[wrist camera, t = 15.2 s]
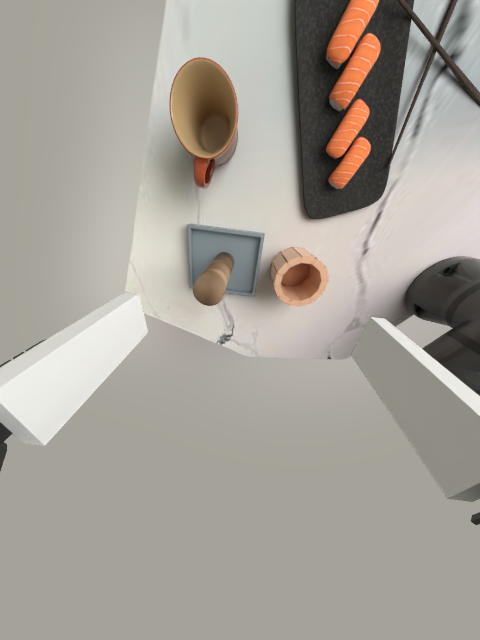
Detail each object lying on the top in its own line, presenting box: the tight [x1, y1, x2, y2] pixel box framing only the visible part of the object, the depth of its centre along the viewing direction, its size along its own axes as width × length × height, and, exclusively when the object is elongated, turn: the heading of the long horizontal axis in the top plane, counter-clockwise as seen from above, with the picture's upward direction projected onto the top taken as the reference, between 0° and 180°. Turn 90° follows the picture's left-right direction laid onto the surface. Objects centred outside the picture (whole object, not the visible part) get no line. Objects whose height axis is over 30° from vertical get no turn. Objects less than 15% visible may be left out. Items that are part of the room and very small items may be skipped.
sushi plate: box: [295, 0, 480, 219], centre depth 26 cm, size 29×30×4 cm
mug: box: [170, 58, 238, 189], centre depth 28 cm, size 12×9×10 cm
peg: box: [193, 252, 234, 306], centre depth 34 cm, size 4×4×18 cm
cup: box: [270, 247, 329, 306], centre depth 38 cm, size 10×10×9 cm
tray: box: [188, 224, 265, 296], centre depth 41 cm, size 16×14×2 cm
